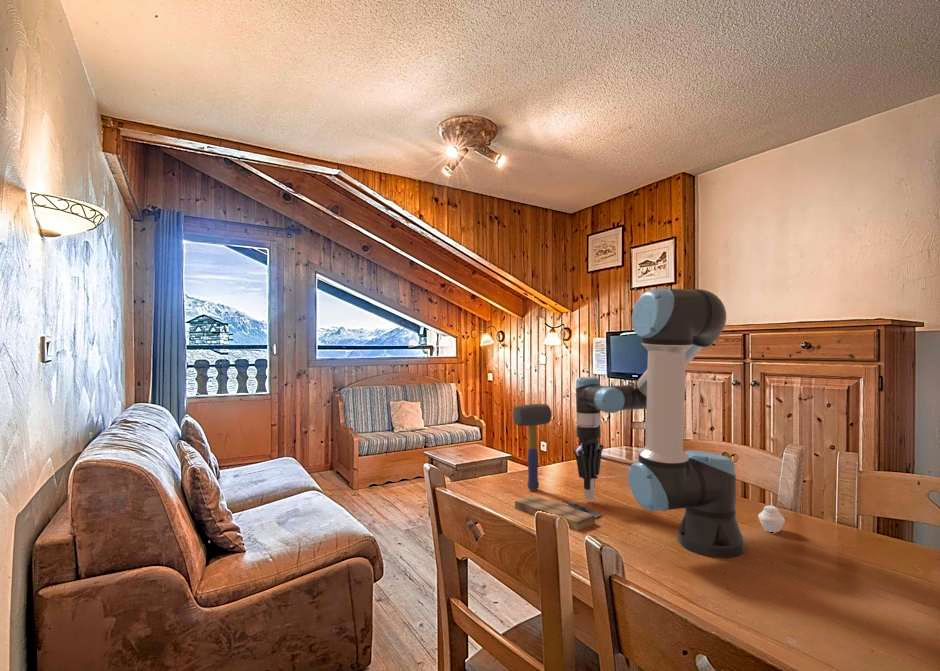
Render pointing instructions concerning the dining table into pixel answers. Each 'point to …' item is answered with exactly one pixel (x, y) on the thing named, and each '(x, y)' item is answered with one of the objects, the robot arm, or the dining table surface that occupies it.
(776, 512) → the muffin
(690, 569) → the dining table surface
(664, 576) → the dining table surface
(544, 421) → the rubber mallet
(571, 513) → the floorboard
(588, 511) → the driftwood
